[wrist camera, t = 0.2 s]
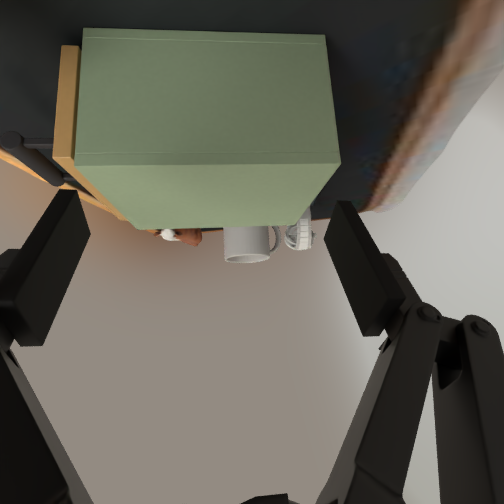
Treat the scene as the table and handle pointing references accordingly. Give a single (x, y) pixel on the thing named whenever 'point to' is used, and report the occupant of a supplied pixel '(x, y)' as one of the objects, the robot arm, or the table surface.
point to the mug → (249, 243)
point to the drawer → (58, 133)
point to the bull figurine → (182, 235)
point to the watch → (301, 232)
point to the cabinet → (205, 125)
